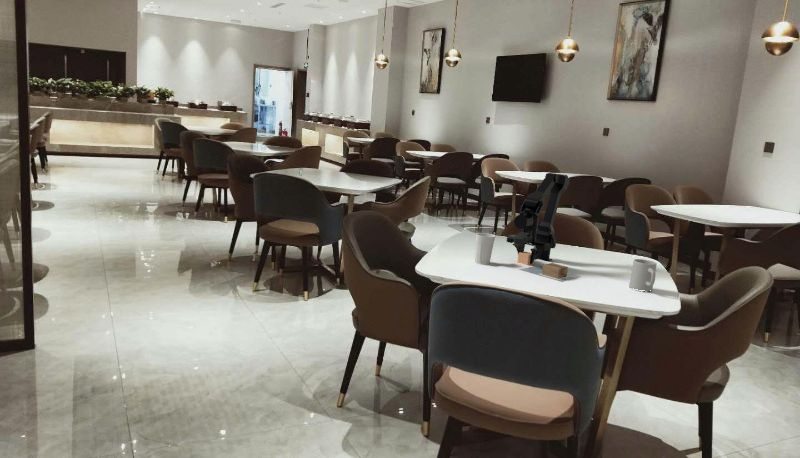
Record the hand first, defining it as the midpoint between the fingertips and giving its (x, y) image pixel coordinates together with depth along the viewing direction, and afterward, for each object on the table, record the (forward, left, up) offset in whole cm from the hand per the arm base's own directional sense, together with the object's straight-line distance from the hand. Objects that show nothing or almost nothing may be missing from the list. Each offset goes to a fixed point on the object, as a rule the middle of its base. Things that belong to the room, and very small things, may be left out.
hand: (525, 262), depth 260 cm
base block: (+7, +18, 0) cm, 19 cm away
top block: (0, 0, -1) cm, 1 cm away
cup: (+16, -11, -1) cm, 19 cm away
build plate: (+5, +15, -1) cm, 16 cm away
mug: (-10, +47, -1) cm, 48 cm away
